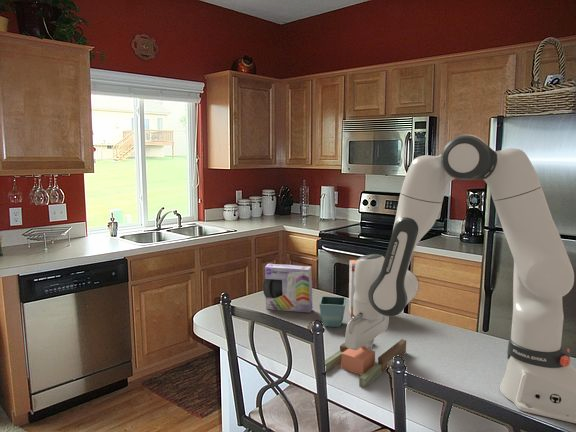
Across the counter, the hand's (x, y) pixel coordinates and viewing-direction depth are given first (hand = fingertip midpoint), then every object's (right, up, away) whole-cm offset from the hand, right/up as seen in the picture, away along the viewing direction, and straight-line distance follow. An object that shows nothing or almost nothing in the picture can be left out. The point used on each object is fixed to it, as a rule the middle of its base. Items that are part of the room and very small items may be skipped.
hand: (366, 353), depth 133 cm
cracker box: (+7, +3, +38) cm, 39 cm away
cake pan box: (-23, +4, +43) cm, 49 cm away
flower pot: (-7, +2, +28) cm, 29 cm away
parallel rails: (-1, -2, -1) cm, 2 cm away
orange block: (-3, -3, -4) cm, 6 cm away
